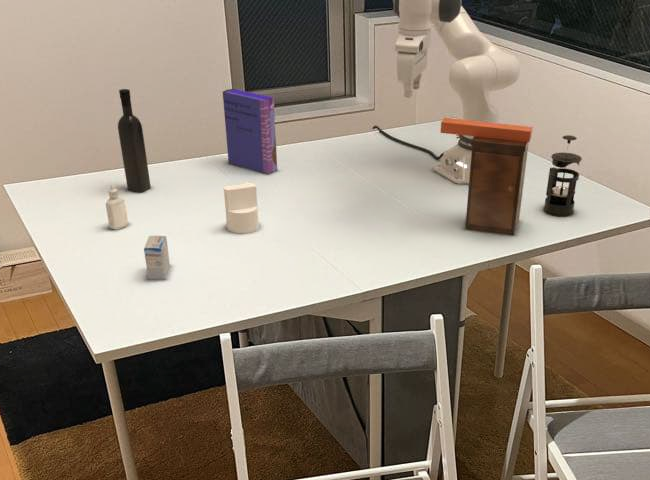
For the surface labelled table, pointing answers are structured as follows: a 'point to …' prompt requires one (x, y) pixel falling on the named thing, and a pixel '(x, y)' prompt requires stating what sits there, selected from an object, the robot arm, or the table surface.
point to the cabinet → (495, 185)
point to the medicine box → (157, 257)
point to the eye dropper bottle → (116, 210)
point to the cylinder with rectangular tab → (241, 208)
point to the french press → (559, 196)
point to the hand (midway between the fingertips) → (412, 92)
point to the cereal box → (250, 130)
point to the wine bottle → (132, 147)
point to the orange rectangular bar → (486, 129)
